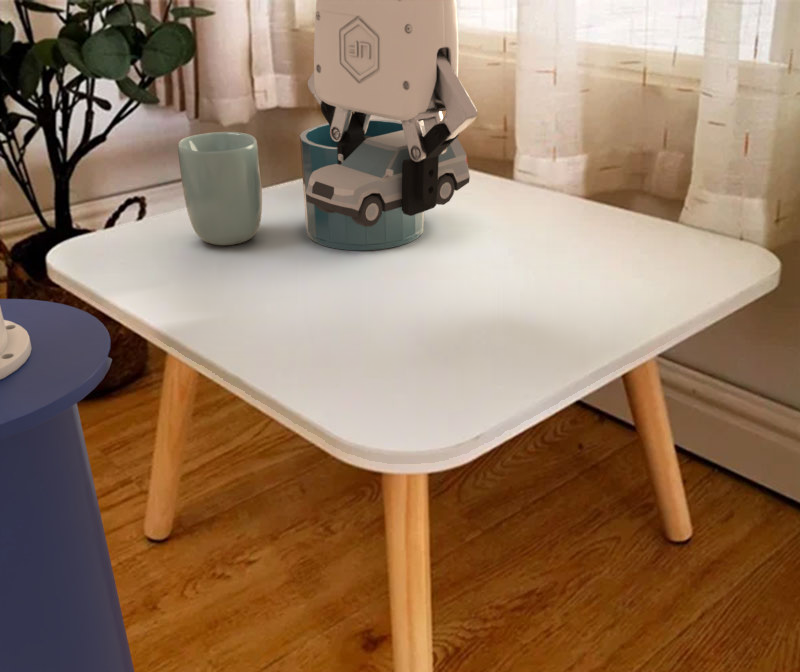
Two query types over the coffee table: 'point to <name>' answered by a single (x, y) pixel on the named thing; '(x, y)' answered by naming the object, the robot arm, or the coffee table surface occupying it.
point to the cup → (222, 185)
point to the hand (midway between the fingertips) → (386, 199)
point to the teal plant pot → (341, 228)
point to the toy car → (379, 178)
